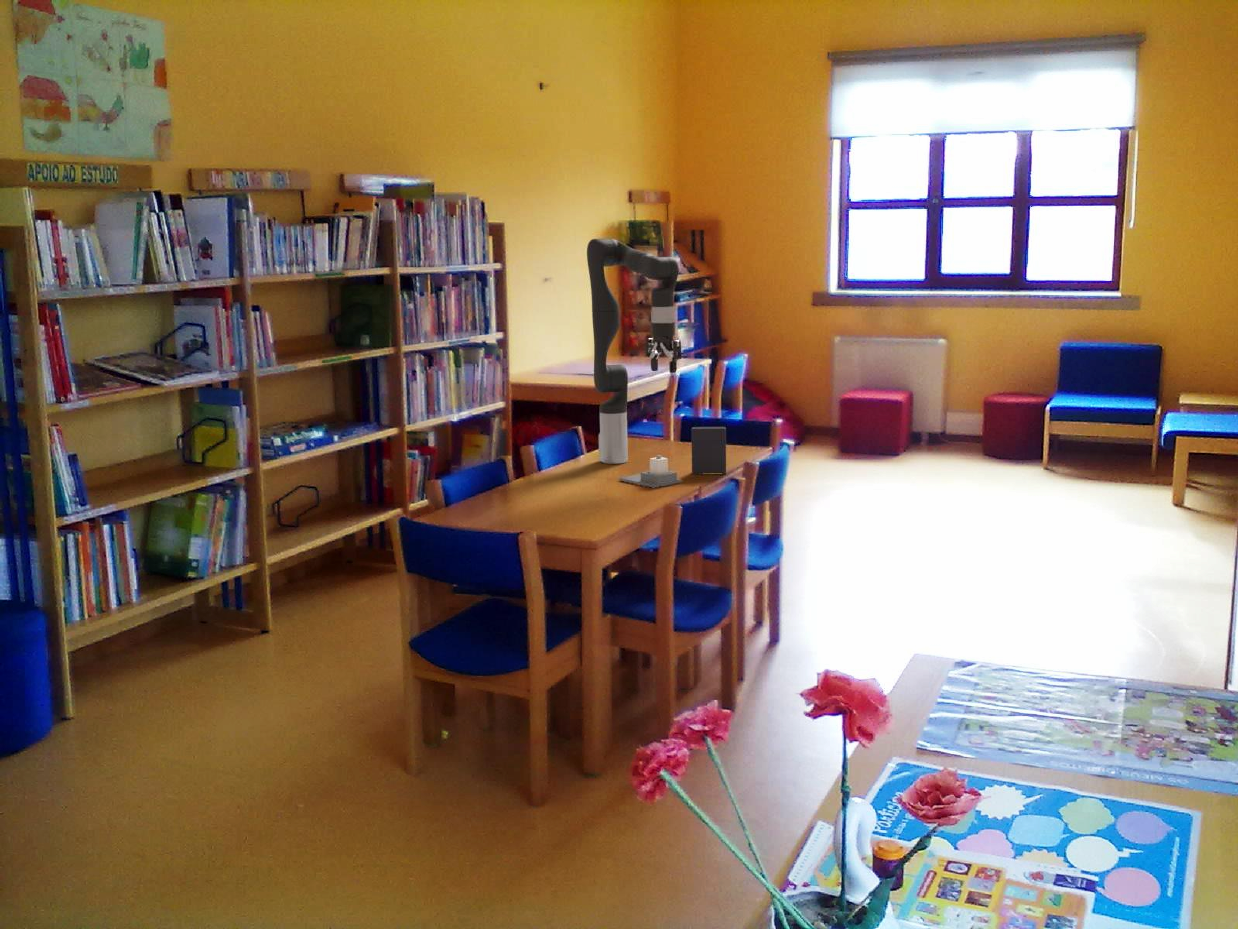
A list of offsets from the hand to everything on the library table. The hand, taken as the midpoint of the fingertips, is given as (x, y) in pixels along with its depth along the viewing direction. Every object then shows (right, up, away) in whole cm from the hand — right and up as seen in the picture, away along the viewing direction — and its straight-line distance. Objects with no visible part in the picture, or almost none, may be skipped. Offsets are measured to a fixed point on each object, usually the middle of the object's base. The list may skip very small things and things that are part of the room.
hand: (663, 371), depth 383 cm
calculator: (+15, -33, +5) cm, 36 cm away
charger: (-2, -35, -9) cm, 36 cm away
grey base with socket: (-4, -35, -6) cm, 36 cm away
